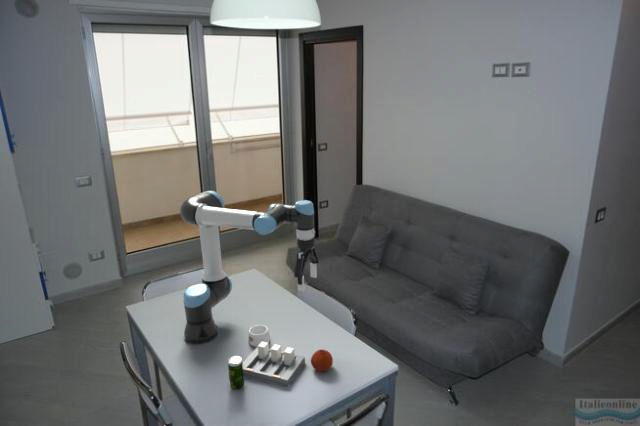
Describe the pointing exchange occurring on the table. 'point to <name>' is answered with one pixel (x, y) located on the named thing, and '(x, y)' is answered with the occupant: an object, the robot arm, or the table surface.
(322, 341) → the table surface
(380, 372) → the table surface
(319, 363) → the fruit
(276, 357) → the white cuboid
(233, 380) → the beer can
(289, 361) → the tab
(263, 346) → the white rectangular block
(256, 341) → the mug
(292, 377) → the switch board
